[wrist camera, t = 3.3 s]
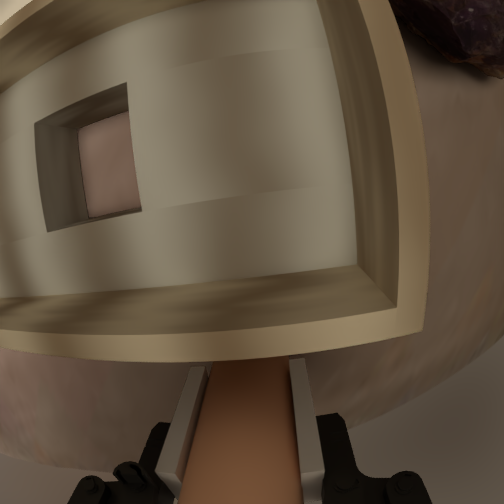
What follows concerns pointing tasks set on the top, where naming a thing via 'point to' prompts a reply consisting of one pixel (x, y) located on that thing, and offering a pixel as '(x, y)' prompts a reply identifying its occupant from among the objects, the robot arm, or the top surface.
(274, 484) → the peg
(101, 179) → the top surface
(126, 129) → the top surface
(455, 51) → the rock
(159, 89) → the box
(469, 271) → the top surface
